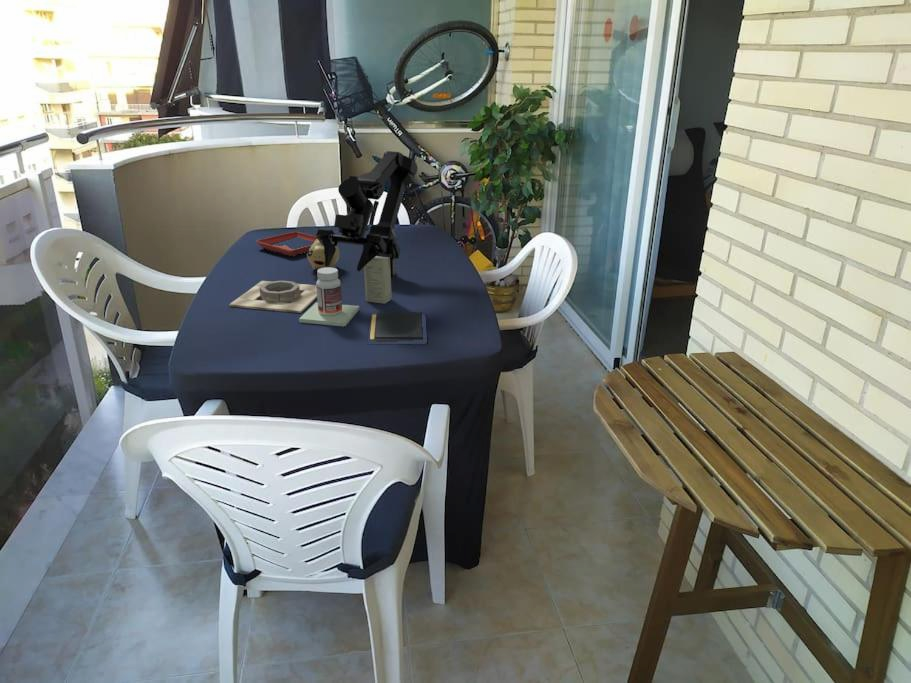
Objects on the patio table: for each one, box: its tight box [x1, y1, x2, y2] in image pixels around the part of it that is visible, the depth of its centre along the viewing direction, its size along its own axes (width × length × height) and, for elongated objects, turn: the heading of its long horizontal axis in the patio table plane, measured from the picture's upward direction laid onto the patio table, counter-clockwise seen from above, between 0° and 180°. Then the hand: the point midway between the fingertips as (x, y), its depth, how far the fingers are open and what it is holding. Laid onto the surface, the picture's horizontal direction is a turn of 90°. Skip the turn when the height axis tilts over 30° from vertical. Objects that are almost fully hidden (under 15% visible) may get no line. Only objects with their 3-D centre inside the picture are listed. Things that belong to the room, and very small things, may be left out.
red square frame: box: [255, 231, 317, 257], centre depth 223 cm, size 18×18×3 cm
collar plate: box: [228, 280, 317, 314], centre depth 179 cm, size 20×20×3 cm
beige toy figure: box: [306, 239, 340, 270], centre depth 200 cm, size 10×12×11 cm
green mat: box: [298, 301, 360, 327], centre depth 168 cm, size 12×12×1 cm
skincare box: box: [363, 256, 393, 304], centre depth 177 cm, size 6×4×12 cm
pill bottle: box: [315, 267, 343, 316], centre depth 166 cm, size 6×6×11 cm
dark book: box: [368, 311, 424, 343], centre depth 162 cm, size 20×2×15 cm
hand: (342, 268), depth 171 cm, fingers open, 9 cm apart
